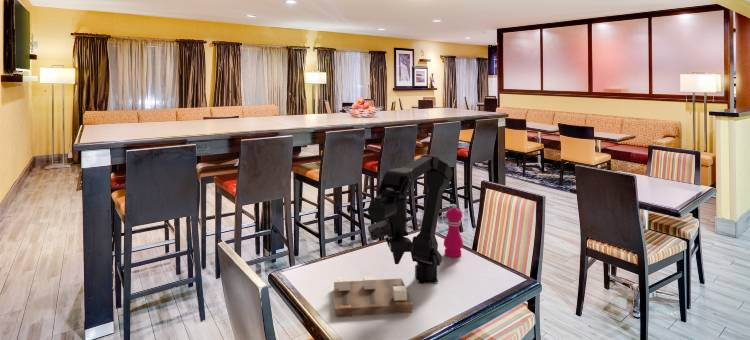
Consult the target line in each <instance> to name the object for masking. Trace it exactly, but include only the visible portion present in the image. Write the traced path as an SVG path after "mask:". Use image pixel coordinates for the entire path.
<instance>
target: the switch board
mask: <svg viewBox="0 0 750 340" xmlns="http://www.w3.org/2000/svg"><path fill="white" fill-rule="evenodd" d="M393 286H405V287H406V285H405V282H404V280H403V278H389V279H388V278H387V279H376V289H364V280H354V281H353V280H350V290H348V291H338V281H334V282H333V291H334V292H333V295H334V313H335V314H334V316H335V317H334V318H344V317H359V316H376V315H391V314H406V313H407V314H409V313H413V303H412V301H411V297H410V295H409V293H408V292H407V300H399V301H394V298H393Z"/></svg>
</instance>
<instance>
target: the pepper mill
mask: <svg viewBox="0 0 750 340" xmlns="http://www.w3.org/2000/svg"><path fill="white" fill-rule="evenodd" d="M445 216H446V219H447V223H446V224H447V225H448V228H447V230H448V231H447V233H446V236H445V237H444V240H443V246H444V247H445V248H444V255H445V256H446V257H449V258H452V259H453V258H454V257H456V258H460V257H461V256H462V248H463V246H464V241H463V238H462V235H461V234H460V226H461V223H462V222H461V220H462V218H463V212H462V210H461V209H459V208H458V206H457V204H456V203H455V204H454V203H453V204H452V205H451V207H450V208H449V209H447V211H446V213H445Z"/></svg>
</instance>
